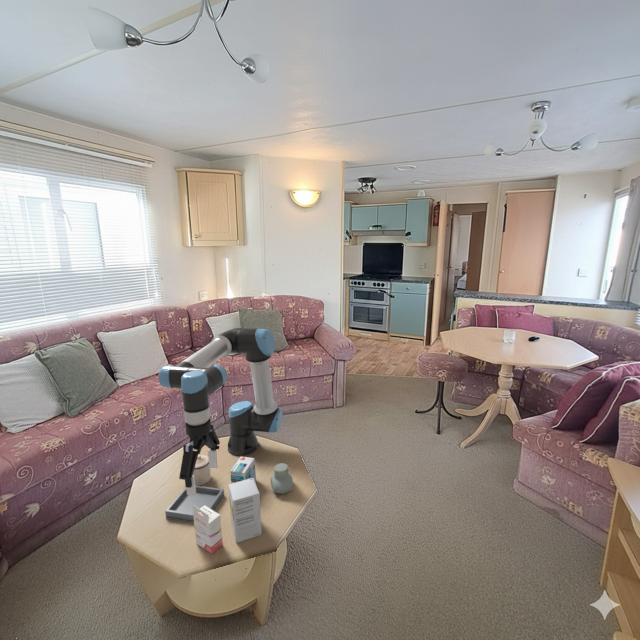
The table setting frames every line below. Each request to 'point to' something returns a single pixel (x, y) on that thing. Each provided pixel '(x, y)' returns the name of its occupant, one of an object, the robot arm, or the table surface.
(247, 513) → the supplement box
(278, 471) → the air freshener
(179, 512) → the tray
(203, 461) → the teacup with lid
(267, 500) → the table surface
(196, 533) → the ink cartridge box
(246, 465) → the light bulb box
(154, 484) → the table surface
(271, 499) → the table surface
